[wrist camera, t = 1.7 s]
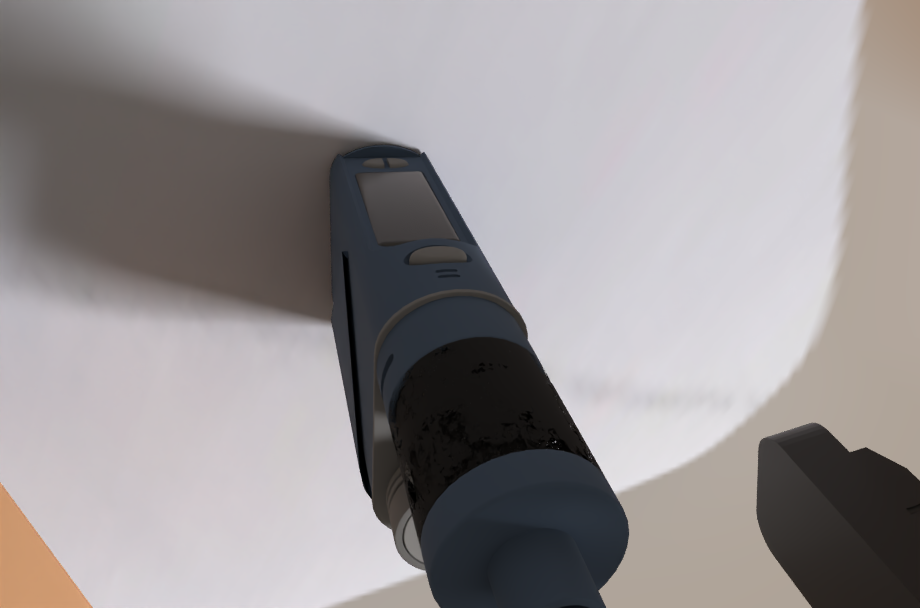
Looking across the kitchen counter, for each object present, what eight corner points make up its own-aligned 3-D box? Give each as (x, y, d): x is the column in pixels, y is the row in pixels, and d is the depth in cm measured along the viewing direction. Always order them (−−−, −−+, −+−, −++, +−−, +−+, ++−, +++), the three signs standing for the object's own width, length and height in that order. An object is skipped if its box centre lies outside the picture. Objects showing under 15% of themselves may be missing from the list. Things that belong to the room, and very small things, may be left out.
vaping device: (439, 130, 18) (704, 527, 8) (427, 327, 20) (611, 813, 10) (323, 131, 17) (446, 565, 7) (326, 334, 20) (419, 858, 10)
